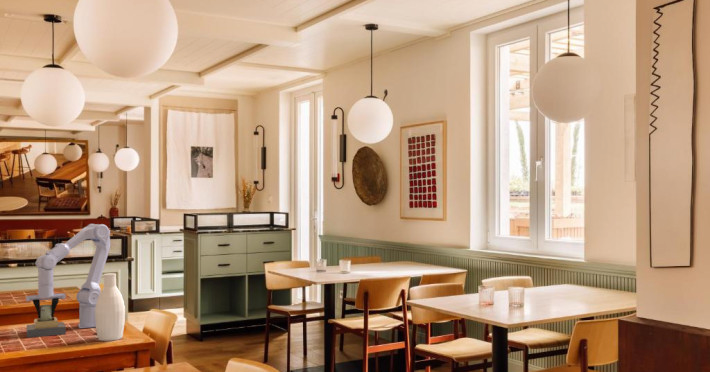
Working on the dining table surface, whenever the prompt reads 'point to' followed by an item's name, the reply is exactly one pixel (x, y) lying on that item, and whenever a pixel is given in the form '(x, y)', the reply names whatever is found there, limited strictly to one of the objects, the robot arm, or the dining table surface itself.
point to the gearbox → (46, 328)
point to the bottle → (110, 311)
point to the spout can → (45, 313)
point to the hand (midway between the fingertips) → (45, 317)
